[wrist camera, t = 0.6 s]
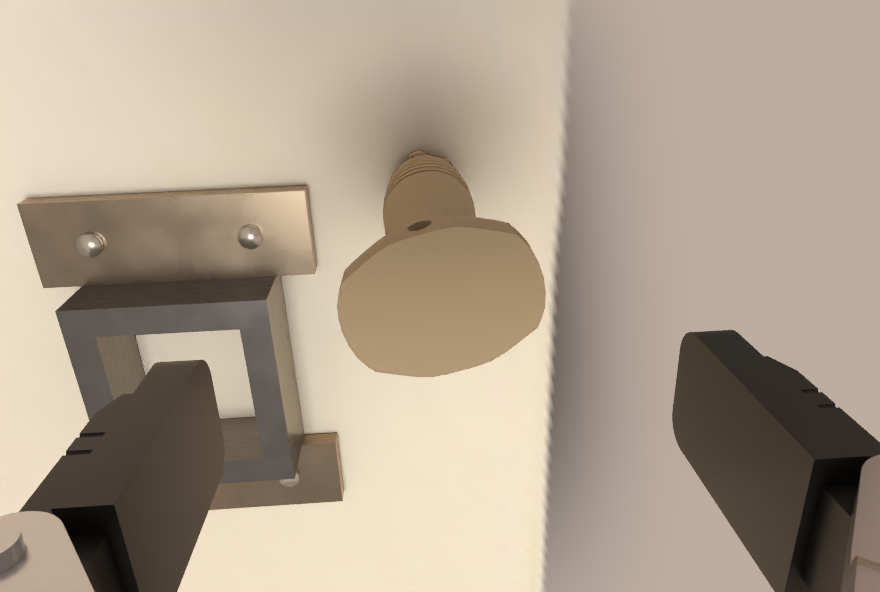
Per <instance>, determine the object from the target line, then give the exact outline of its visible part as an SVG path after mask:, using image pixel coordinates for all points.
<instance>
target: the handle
mask: <svg viewBox="0 0 880 592" xmlns="http://www.w3.org/2000/svg"><path fill="white" fill-rule="evenodd" d="M383 218H384V227H385V233H386V236H384V237H383V238H381V239H380V240H379V241H377V242H376V243H375V244H373V245H372V246H371V247H370V248H368V249H367V250H366V251H365V252H364V253H363V254H362V255H360V256H359V257H358V258H357V259H356V260H355V261H354V262H353V263H352V264H351V265H350V266H349V267H348V268H347V269H346V270H345V271H344V275H343V278H342V282H341V286H340V290H339V296H338V304H337V308H338V317H339V322H340V325H341V329H342V332H343V335H344V337H345V339H346V341H347V343H348V345H349V347H350V348H351V350H352V351H353V352H354V354H355V355H356V356H357V358H358V359H359V360H361V361H362V362H363V363H364V364H365V365H366V366H368V367H369V368H371V369H372V370H374V371H375V372H381V373H388V374H396V375H405V376H414V377H434V376H440V375H446V374H450V373H454V372H457V371H461V370H465V369H468V368H472V367H476V366H479V365H482V364H484V363H487V362H490V361H492V360H494V359H495V358H497V357H499V356H500V355H502V354H504V353H505V352H507V351H508V350H509V349H511V348H512V347H513V346H515V345H516V344H517V343H519V342H520V341H521V340H522V339H524V338H525V337H526V336H528V335H529V334H530V333H531V332H533V331H534V330H535V329H536V328H538V325H539V323H540V321H541V318H542V315H543V312H544V308H545V295H546V292H545V284H544V277H543V274H542V271H541V268H540V265H539V263H538V261H537V259H536V257H535V255H534V253H533V251H532V250H531V248H530V246H529V244H528V242H527V241H526V240H525V239H524V237H523V236H522V235H521V234H520V233H519V232H518V231H517V230H516V229H515V228H514V227H512V226H511V225H510V224H509V223H505V222H501V221H496V220H490V219H484V218H477V217H476V216H475V209H474V204H473V200H472V197H471V194H470V192H469V189H468V187H467V185H466V183H465V181H464V180H463V178H462V177H461V175H460V174H459V173H458V171H457V170H456V169H455V168H454V167H453V165H452V164H451V163H450V161H449V160H448V159H446V158H445V157H442V158H438V157H435V156H430V155H426V154H425V153H424V152H423V151H415V152H413V153H411V154H410V155H409V157H408V160H407V161H406V162H404V163H403V164H402V165H401V166H400V167H399V168H398V169H397V170H396V171H395V172H394V173H393V174H392V177H391V180H390V182H389V184H388V187H387V190H386V194H385V198H384V208H383Z"/></svg>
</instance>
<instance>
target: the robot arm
mask: <svg viewBox="0 0 880 592" xmlns="http://www.w3.org/2000/svg"><path fill="white" fill-rule="evenodd" d="M672 417H673V418H672V419H673V429H674V434H675V437H676V440H677V443H678V445H679V447H680V449H681V451H682V452H683V454H684V455H685V457H686V458H687V460H688V461H689V463H690V464H691V466H692V467H693V469H694V470H695V472H696V473H697V475H698V476H699V478H700V479H701V481H702V482H703V484H704V485H705V487H706V488H707V490H708V492H709V493H710V494H711V496H712V497H713V499H714V501H715V502H716V503H717V505H718V507H719V508H720V510H721V511H722V513H723V514H724V516H725V517H726V519H727V520H728V522H729V523H730V525H731V526H732V528H733V529H734V530H735V532H736V534H737V535H738V536H739V538H740V540H741V541H742V543H743V544H744V546H745V547H746V549H747V550H748V552H749V553H750V555H751V556H752V558H753V559H754V561H755V562H756V564H757V565H758V567H759V569H760V570H761V571H762V573H763V575H764V576H765V577H766V579H767V581H768V582H769V583H770V585H771V587H772V588H773V590H774V591H775V592H880V442H878V441H877V440H876V439H875V438H874V437H873V436H872V435H870V434H869V433H868V432H867V431H866V430H864V428H862V427H861V426H860V425H859V424H858V423H857V422H856V421H854V420H853V419H852V418H851V417H850V416H849V415H847V414H846V413H845V412H844V411H843V410H842V409H840V408H836V407H835V403H834V402H833V401H831V400H830V399H829V398H828V397H827V396H826V395H825V394H823V393H822V392H821V393H819V392H818V388H817V387H815V386H814V385H813V384H812V383H811V382H809V381H808V380H807V379H806V378H805V377H804V376H803V375H802V374H800V373H799V372H798V371H797V370H795V369H793V368H791V367H788V366H786V365H784V364H782V363H780V362H778V361H776V360H774V359H772V358H770V357H768V356H765V357H764V356H763V355H761V354H760V353H759V352H758V351H757V350H756V349H755V348H754V347H753V346H752V345H750V344H749V343H748V342H747V341H746V340H745V339H744V338H743V337H742V336H741V335H740V334H738V333H737V332H736V331H734V330H723V331H707V332H706V331H705V332H689V333H687V334H686V335H685V336H684V337H683V340H682V343H681V347H680V355H679V363H678V372H677V379H676V387H675V396H674V404H673V414H672ZM224 458H225V449H224V439H223V433H222V428H221V423H220V418H219V413H218V408H217V403H216V398H215V393H214V387H213V382H212V377H211V373H210V369H209V367H208V364H207V363H206V362H205V361H204V360H192V361H175V362H158V363H155V364H154V365H153V366H152V368H151V369H150V371H149V372H148V373H147V375H146V376H145V378H144V379H143V380H142V382H141V383H140V385H139V386H138V387H137V389H136V390H135V392H134V393H133V394H122V395H121V396H119V397H118V398H116V399H115V400H114V401H112V402H111V403H109V404H108V405H106V406H105V407H103V408H102V409H101V410H99V411H98V412H96V413H95V414H94V416H93V417H92V418H91V420H90V421H89V422H88V424H87V425H86V426H85V427H84V429H83V430H82V431H81V433H80V438H76V439H75V440H74V442H73V443H72V444H71V445H70V447H69V448H68V449H67V451H66V456H62V457H61V458H60V460H59V461H58V462H57V464H56V465H55V466H54V467H53V469H52V470H51V471H50V473H49V474H48V475H47V476H46V478H45V479H44V480H43V482H42V483H41V484H40V485H39V487H38V488H37V489H36V491H35V492H34V493H33V495H32V496H31V497H30V498H29V500H28V501H27V502H26V504H25V505H24V506H23V507H22V509H21V510H20V511H19V512H17V513H12V514H8V515H4V516H1V517H0V592H177V590H178V588H179V585H180V583H181V580H182V578H183V575H184V572H185V570H186V567H187V565H188V562H189V560H190V557H191V554H192V552H193V549H194V547H195V544H196V542H197V539H198V536H199V534H200V531H201V529H202V526H203V523H204V521H205V518H206V516H207V513H208V511H209V508H210V505H211V503H212V500H213V498H214V495H215V493H216V490H217V487H218V485H219V482H220V480H221V477H222V473H223V468H224Z"/></svg>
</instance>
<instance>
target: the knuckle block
mask: <svg viewBox="0 0 880 592" xmlns="http://www.w3.org/2000/svg"><path fill="white" fill-rule="evenodd" d="M17 206H18V209H19V213H20V216H21V219H22V222H23V225H24V228H25V231H26V235H27V238H28V241H29V244H30V247H31V250H32V254H33V257H34V260H35V263H36V266H37V269H38V273H39V276H40V279H41V282H42V285H43V288H53V287H72V286H82V287H81V288H80V289H79V290H78V291H77V292H76V293H75V294H74V295H72V296H71V297H70V298H69V299H68V300H67V301H66V302H65V303H64V304H63V305H62V306H61V307H60V308H58V309H57V310H56V311H55V312H56V315H57V318H58V321H59V325H60V328H61V331H62V334H63V337H64V341H65V344H66V347H67V350H68V353H69V357H70V360H71V363H72V366H73V369H74V372H75V376H76V379H77V382H78V385H79V388H80V392H81V395H82V398H83V401H84V404H85V408H86V411H87V414H88V417H89V420H91V418H92V417H93V416H94V414H95V413H96V412H98V411H99V410H101V409H102V408H103V407H105V406H106V405H108V404H109V403H111V402H112V401H114V400H115V399H116V398H118V397H119V396H121V395H122V394H133V393H134V392H135V390H136V389H137V387H138V386H139V385H140V383H141V382H142V380H143V379H144V378H145V373H144V369H143V365H142V361H141V357H140V354H139V350H138V346H137V342H136V338H135V335H144V334H162V333H180V332H198V331H215V330H233V329H240V332H241V338H242V343H243V349H244V354H245V360H246V365H247V371H248V376H249V382H250V387H251V393H252V398H253V404H254V409H255V415H256V417H250V418H234V419H220V423H221V428H222V433H223V439H224V449H225V458H224V468H223V473H222V477H221V480H220V482H219V485H218V487H217V490H216V493H215V495H214V498H213V500H212V503H211V505H210V508H209V510H215V509H230V508H245V507H260V506H275V505H289V504H304V503H319V502H334V501H343V493H344V487H343V479H342V471H341V463H340V454H339V446H338V438H337V433H324V434H308V435H304V431H303V424H302V417H301V411H300V404H299V397H298V390H297V383H296V377H295V370H294V363H293V356H292V349H291V342H290V336H289V329H288V322H287V315H286V308H285V302H284V295H283V288H282V281H281V276H282V275H301V274H315V271H316V268H317V264H316V255H315V247H314V239H313V231H312V222H311V214H310V206H309V197H308V189H307V185H304V186H283V187H261V188H240V189H219V190H197V191H176V192H155V193H133V194H112V195H91V196H69V197H48V198H27V199H26V200H24V201H22V202H20V203H18V204H17Z"/></svg>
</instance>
